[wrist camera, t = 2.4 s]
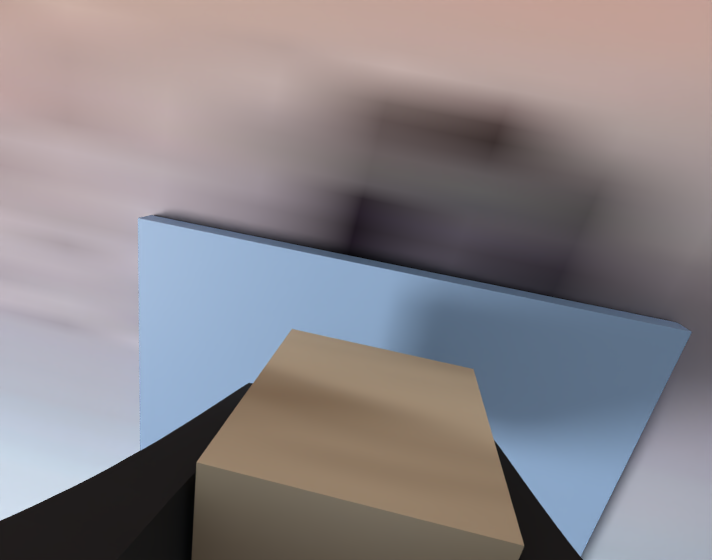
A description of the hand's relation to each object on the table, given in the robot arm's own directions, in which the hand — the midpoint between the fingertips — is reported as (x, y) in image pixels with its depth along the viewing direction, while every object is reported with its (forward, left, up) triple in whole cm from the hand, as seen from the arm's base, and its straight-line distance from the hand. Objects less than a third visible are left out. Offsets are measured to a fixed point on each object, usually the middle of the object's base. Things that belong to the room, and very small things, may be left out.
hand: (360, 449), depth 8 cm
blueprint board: (-7, -4, -4) cm, 9 cm away
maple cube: (0, 0, -1) cm, 1 cm away
